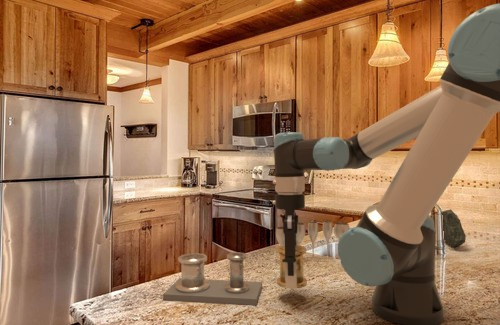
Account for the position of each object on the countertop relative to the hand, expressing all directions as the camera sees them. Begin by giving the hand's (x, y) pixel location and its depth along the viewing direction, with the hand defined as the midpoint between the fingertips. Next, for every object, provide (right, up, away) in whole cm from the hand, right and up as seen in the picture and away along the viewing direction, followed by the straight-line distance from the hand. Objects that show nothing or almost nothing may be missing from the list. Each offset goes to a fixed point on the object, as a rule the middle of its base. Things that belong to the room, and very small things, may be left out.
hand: (291, 282), depth 90 cm
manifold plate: (-20, -4, +4) cm, 21 cm away
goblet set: (+12, -4, +34) cm, 36 cm away
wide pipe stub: (-26, -3, +4) cm, 27 cm away
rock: (+69, -3, +51) cm, 86 cm away
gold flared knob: (0, 0, 0) cm, 0 cm away
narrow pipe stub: (-14, -3, +3) cm, 15 cm away
